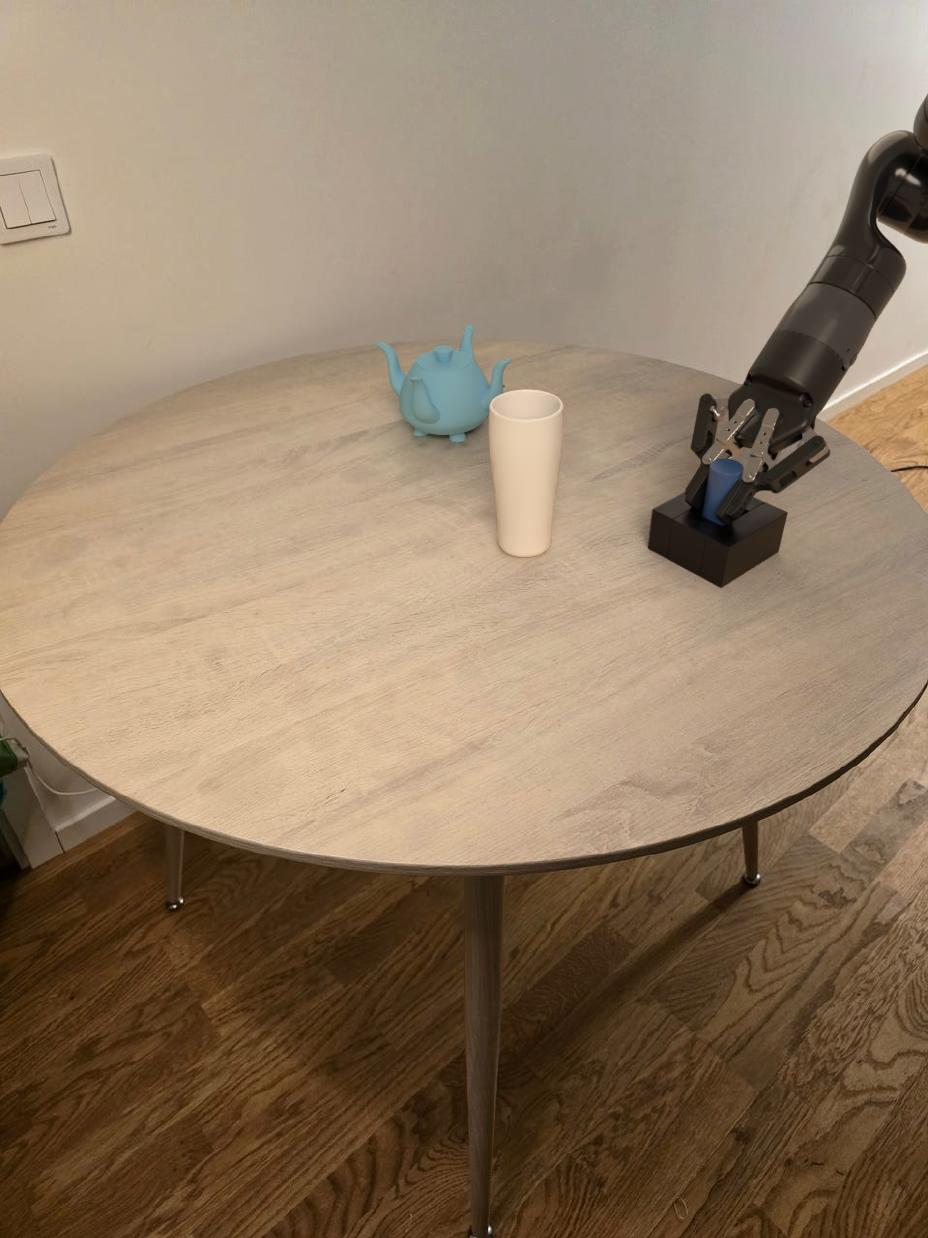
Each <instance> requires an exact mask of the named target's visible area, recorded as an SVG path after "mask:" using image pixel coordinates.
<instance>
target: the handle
mask: <svg viewBox="0 0 928 1238" xmlns="http://www.w3.org/2000/svg"><path fill="white" fill-rule="evenodd" d="M744 470H745V467H744V465H743V463H741V462H740V461H739V460H735V459H717V460H714V461H712V462H711V464H710V468H709V474H708V480H707V486H706V492H705V498H704V505H703V511H702V516H703V517H705V518H707V519H709V520H711V521H713V522H715V523H717V524H719V525H721V526H723V527H724V526H725V525H727V524H725V523H723V522H721V521H720V520H719V519H718V518H717V517H716V512H717V510H718V509H719V507H720V505H721V504H722V502H723V501H724V499H725V498H726V496H727V495H728V493H729V491H730V490H731V488H732V487H733V485H734V484H735V482H736V481H737V480H739V481H741V480H742V475H743V473H744ZM732 521H734V520H732Z"/></svg>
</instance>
